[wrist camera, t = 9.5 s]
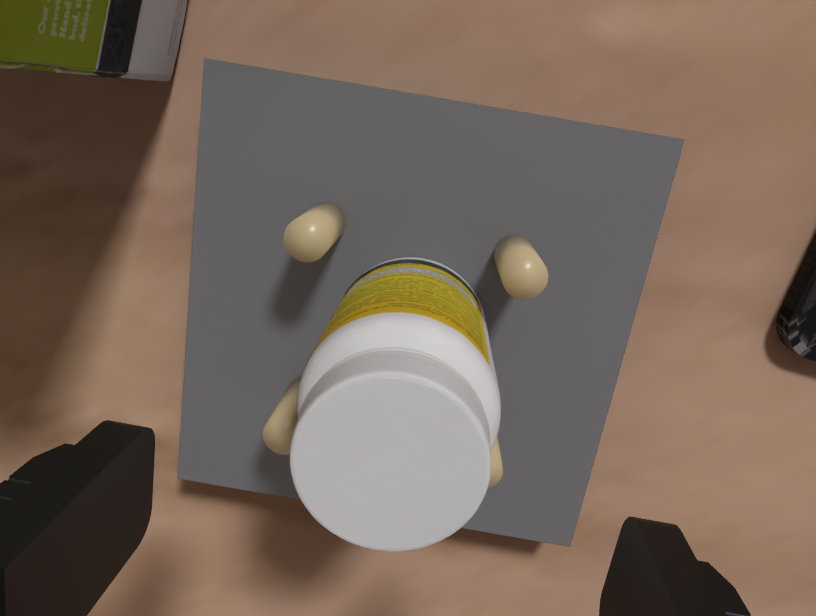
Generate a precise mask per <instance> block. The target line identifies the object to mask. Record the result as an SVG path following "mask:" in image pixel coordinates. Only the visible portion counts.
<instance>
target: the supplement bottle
mask: <svg viewBox="0 0 816 616" xmlns="http://www.w3.org/2000/svg"><path fill="white" fill-rule="evenodd" d="M297 411H298V421H297V424H296V427H295V430H294V432H293V436H292V440H291V445H290V469H291V475H292V479H293V483H294V485H295V488H296V491H297V493H298V495H299V497H300V499H301V501H302V502H303V504H304V505H305V507H306V508H307V510H308V511H309V512H310V514H311V515H312V516H313V517H314V518H315V519H316V520H317V521H318V522H319V523H320V524H321V525H322V526H324V527H325V528H326V529H327V530H329V531H330V532H331V533H333V534H335V535H337V536H338V537H340V538H342V539H344V540H346V541H348V542H350V543H352V544H355V545H358V546H361V547H364V548H368V549H373V550H379V551H393V552H394V551H409V550H413V549H420V548H423V547H426V546H429V545H432V544H435V543H437V542H439V541H441V540H443V539H445V538H447V537H449V536H450V535H452V534H453V533H455V532H456V531H457V530H459V529H460V528H461V527H462V526H464V525H465V524H466V523H467V522H468V521H469V520H470V519H471V517H472V516H473V515H474V514H475V512H476V511H477V510H478V508H479V506H480V504H481V502H482V500H483V498H484V497H485V494H486V492H487V489H488V485H489V481H490V476H491V464H492V459H491V451H492V449H493V446H494V444H495V441H496V438H497V435H498V431H499V425H500V419H501V399H500V391H499V386H498V381H497V376H496V371H495V367H494V362H493V357H492V352H491V346H490V341H489V336H488V329H487V323H486V320H485V315H484V311H483V308H482V306H481V303H480V301H479V299H478V297H477V296H476V294H475V292H474V291H473V289H472V288H471V287H470V285H469V284H468V283H467V282H466V281H465V280H464V279H463V278H462V277H461V276H460V275H459V274H458V273H456V272H455V271H453V270H452V269H450V268H449V267H447V266H445V265H443V264H441V263H438V262H435V261H433V260H428V259H424V258H416V257H407V258H397V259H392V260H388V261H385V262H383V263H380V264H378V265H376V266H374V267H372V268H370V269H369V270H367V271H366V272H364V273H363V274H362V275H361V276H359V277H358V278H357V279H356V280H355V281H354V283H353V284H352V285H351V286H350V287H349V288H348V290H347V291H346V293H345V294H344V296H343V298H342V300H341V302H340V304H339V306H338V307H337V309H336V311H335V313H334V314H333V316H332V318H331V320H330V322H329V324H328V325H327V327H326V329H325V331H324V332H323V334H322V336H321V338H320V340H319V342H318V344H317V345H316V347H315V349H314V351H313V352H312V354H311V355H310V358H309V360H308V362H307V364H306V367H305V369H304V372H303V375H302V377H301V381H300V385H299V390H298V398H297Z"/></svg>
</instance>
